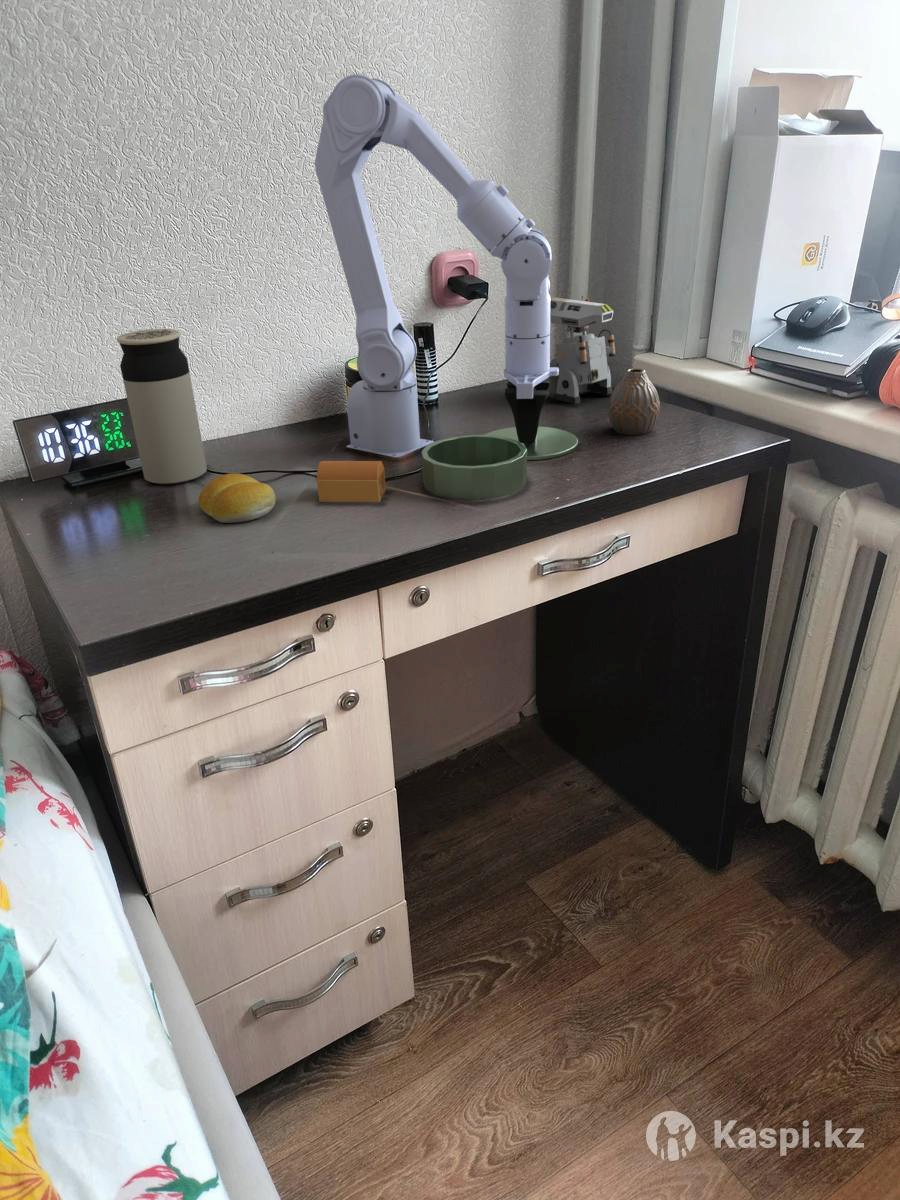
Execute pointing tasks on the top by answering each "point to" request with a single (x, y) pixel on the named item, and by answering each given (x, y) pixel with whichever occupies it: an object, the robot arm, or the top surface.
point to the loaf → (350, 481)
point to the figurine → (581, 349)
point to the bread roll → (236, 498)
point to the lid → (543, 442)
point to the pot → (474, 467)
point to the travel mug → (162, 406)
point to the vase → (634, 404)
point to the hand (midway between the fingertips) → (527, 438)
